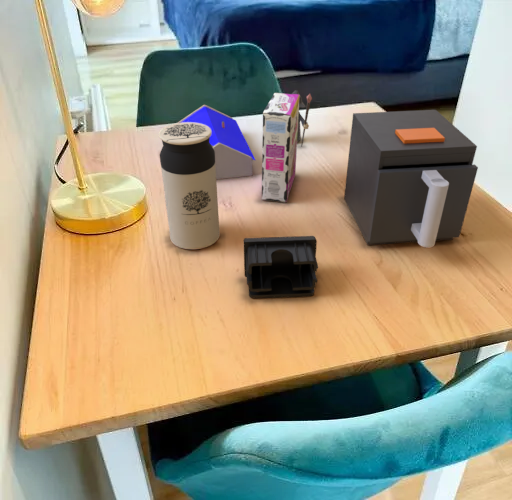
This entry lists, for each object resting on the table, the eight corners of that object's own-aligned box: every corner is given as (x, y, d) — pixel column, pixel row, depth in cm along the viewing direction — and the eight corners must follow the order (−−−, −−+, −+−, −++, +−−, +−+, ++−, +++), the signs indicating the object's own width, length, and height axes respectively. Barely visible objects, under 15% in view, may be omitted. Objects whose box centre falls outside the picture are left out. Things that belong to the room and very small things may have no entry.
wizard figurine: (275, 141, 113) (275, 88, 106) (288, 133, 117) (290, 81, 110) (307, 150, 109) (310, 95, 102) (319, 141, 113) (323, 88, 106)
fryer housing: (452, 239, 81) (478, 142, 71) (367, 245, 80) (381, 147, 70) (418, 194, 93) (436, 106, 83) (343, 198, 92) (353, 109, 82)
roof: (256, 175, 100) (255, 140, 96) (185, 182, 98) (182, 146, 93) (236, 133, 118) (235, 102, 113) (176, 138, 115) (172, 106, 111)
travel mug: (171, 225, 85) (158, 122, 75) (218, 222, 86) (212, 119, 75) (169, 252, 78) (154, 143, 68) (220, 249, 79) (214, 141, 69)
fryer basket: (473, 255, 75) (494, 183, 68) (379, 262, 74) (391, 189, 67) (424, 192, 91) (437, 128, 84) (345, 196, 90) (352, 132, 83)
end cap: (311, 265, 75) (313, 227, 72) (318, 296, 70) (321, 256, 66) (244, 268, 75) (243, 229, 71) (245, 299, 69) (244, 259, 65)
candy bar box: (288, 203, 91) (291, 114, 81) (260, 201, 91) (260, 112, 82) (297, 175, 100) (300, 92, 90) (272, 173, 100) (273, 91, 91)
